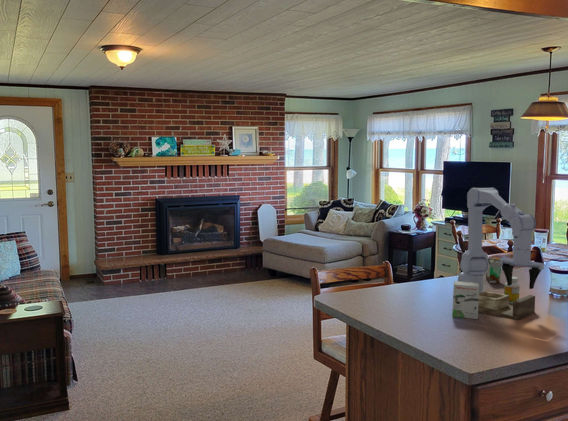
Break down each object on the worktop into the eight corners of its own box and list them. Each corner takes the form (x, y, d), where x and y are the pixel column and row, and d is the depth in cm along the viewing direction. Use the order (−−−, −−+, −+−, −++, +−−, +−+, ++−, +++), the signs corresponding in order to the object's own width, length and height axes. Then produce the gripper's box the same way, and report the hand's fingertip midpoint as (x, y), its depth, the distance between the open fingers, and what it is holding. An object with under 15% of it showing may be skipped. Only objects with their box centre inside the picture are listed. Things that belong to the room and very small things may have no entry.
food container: (504, 285, 240) (505, 263, 239) (489, 285, 241) (490, 262, 240) (499, 279, 252) (500, 258, 251) (485, 279, 253) (486, 257, 252)
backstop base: (465, 308, 202) (466, 292, 201) (483, 302, 212) (483, 286, 211) (518, 319, 188) (519, 302, 188) (534, 312, 198) (535, 295, 197)
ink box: (452, 317, 191) (453, 283, 190) (452, 313, 196) (453, 280, 195) (478, 319, 189) (479, 285, 188) (477, 315, 194) (479, 282, 192)
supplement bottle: (501, 300, 214) (502, 276, 213) (514, 300, 215) (515, 275, 214) (508, 304, 209) (509, 279, 208) (521, 303, 209) (522, 278, 209)
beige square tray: (474, 305, 202) (474, 295, 202) (485, 301, 208) (485, 291, 208) (497, 310, 196) (498, 299, 195) (508, 305, 202) (509, 295, 202)
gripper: (496, 247, 195) (495, 285, 196) (539, 252, 185) (537, 292, 186) (504, 245, 200) (503, 282, 202) (546, 250, 190) (544, 288, 191)
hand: (520, 286), depth 194 cm, fingers open, 7 cm apart
